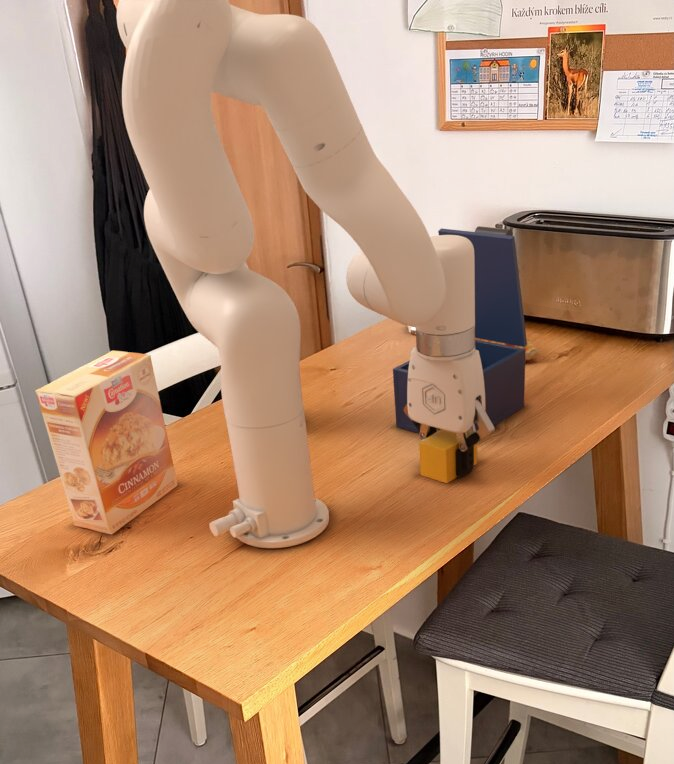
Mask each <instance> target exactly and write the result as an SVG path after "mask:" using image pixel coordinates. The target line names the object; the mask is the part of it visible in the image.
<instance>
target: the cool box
mask: <svg viewBox="0 0 674 764" xmlns="http://www.w3.org/2000/svg"><path fill="white" fill-rule="evenodd" d="M475 349H476V350H478V351H479V355H480V359H481V364H482V370H483V377H484V387H485V412H486V414H487V415H488V417H489V419H490V420H491V422H492V424H493V426H494V427H495V426H496V425H498V424H499V423H501V422H503V421H504V420H506V419H508V418H509V417H510V416H512V415H514V414H516V413H517V412H519V411H520V410H522V409H523V408H525V392H526V391H525V390H526V389H525V387H526V385H525V384H526V360H525V349H523V348H518V347H513V346H507V345H502V344H497V343H492V342H486V341H481V340H476V339H475ZM409 362H410V359H409V360H408V361H405V362H403V363H402V364H400V365H398V366H396V367H394V368H392V379H393V394H394V411H395V412H394V413H395V426H396V428H400V429H403V430H406V431H410V432H413V433H416V434H419V433H420V432H419V431H418V430H417V428H416V427H415V425H414V424H413V420H411V419H410V418H409V417H408V416H407V415H406V414H405V412H404V407H405V406H406V404H407V384H408V370H409ZM474 425H475V429H476V431H477V430H479V426H478V424H477V423H474ZM439 430H441V429H438V431H439Z"/></svg>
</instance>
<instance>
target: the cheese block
mask: <svg viewBox="0 0 674 764" xmlns="http://www.w3.org/2000/svg"><path fill="white" fill-rule="evenodd" d="M465 434H466V438H468V436H467V432H465ZM418 447H419V448H418V449H419V473H420V476H422V477H425V478H428V479H432V480H434V481H438V482H441V483H445V484H448V483H451V481H453V480H455V479H457V478H459V477H458V476H457V475H456V450H458V449H459V446H458V441H457V437H456V433H454V432H450V431H446V430H442V429H441V430H439V431H437V432H436V433H434V434H432V435H431V436H429V437H427V438H426V439H424V440H421V441H419V442H418ZM477 464H478V443H477V444H475V445H474V466H476V465H477Z"/></svg>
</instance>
